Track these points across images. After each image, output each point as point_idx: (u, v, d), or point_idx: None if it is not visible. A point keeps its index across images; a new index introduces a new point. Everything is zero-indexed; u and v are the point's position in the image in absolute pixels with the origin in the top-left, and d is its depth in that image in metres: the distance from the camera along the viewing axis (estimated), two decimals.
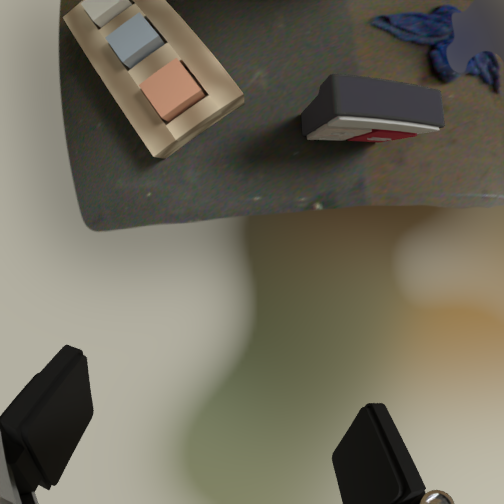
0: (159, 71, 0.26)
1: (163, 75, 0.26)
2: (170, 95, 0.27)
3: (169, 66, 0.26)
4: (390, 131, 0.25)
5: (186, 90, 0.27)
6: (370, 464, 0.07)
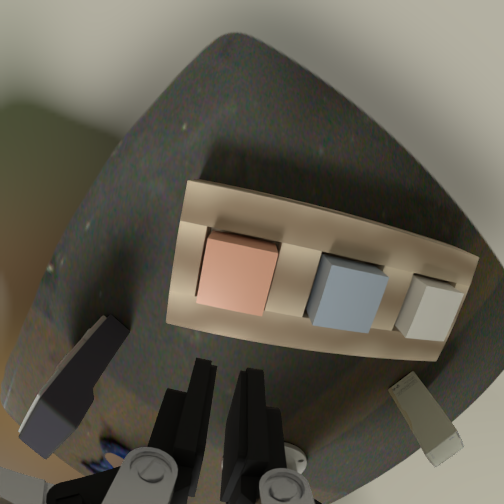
0: (266, 287, 0.22)
1: (256, 286, 0.22)
2: (222, 270, 0.21)
3: (259, 301, 0.22)
4: None
5: (210, 289, 0.22)
6: (233, 427, 0.07)
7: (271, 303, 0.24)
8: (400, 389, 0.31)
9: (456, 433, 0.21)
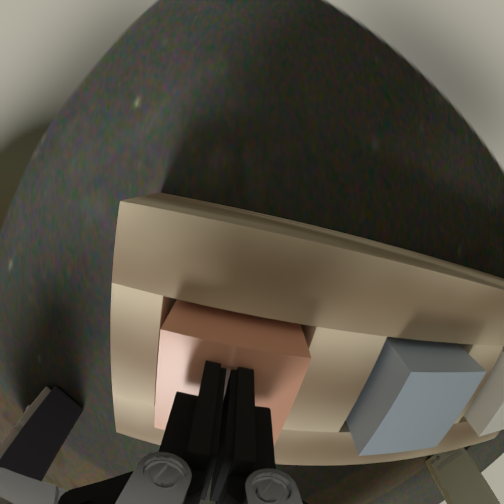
0: (283, 412, 0.10)
1: None
2: (196, 387, 0.10)
3: None
4: None
5: None
6: (223, 427, 0.07)
7: (288, 419, 0.12)
8: (440, 462, 0.19)
9: None
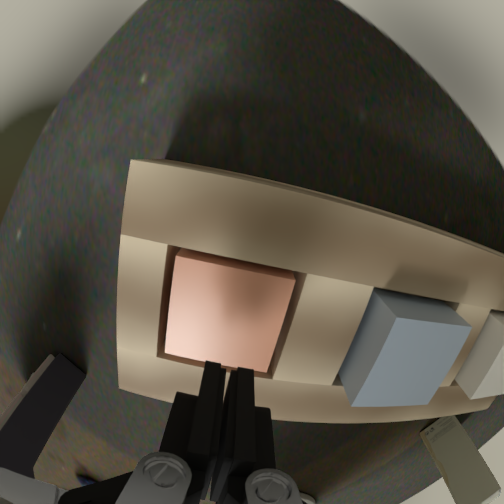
0: (274, 333, 0.13)
1: (258, 332, 0.13)
2: (202, 307, 0.13)
3: (263, 352, 0.13)
4: None
5: (185, 335, 0.13)
6: (223, 427, 0.07)
7: (283, 369, 0.14)
8: (435, 434, 0.21)
9: (499, 490, 0.11)
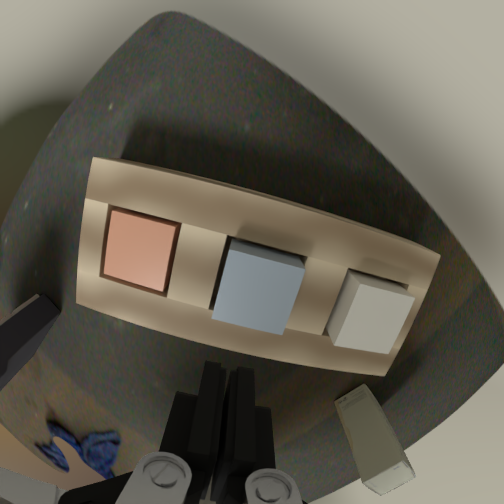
0: (165, 261, 0.21)
1: (155, 260, 0.21)
2: (125, 242, 0.20)
3: (159, 275, 0.21)
4: None
5: (115, 261, 0.21)
6: (223, 427, 0.07)
7: (173, 290, 0.21)
8: (347, 403, 0.29)
9: (402, 463, 0.19)
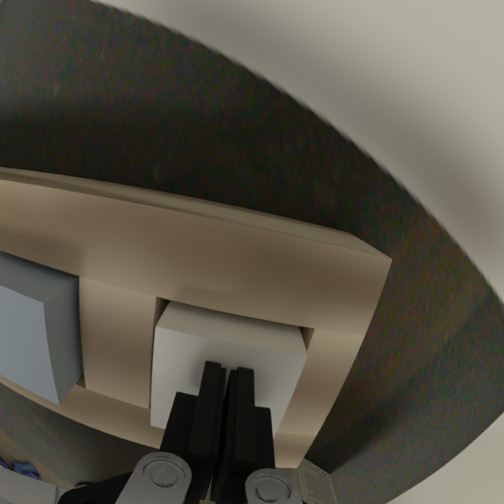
0: None
1: None
2: None
3: None
4: None
5: None
6: (223, 427, 0.07)
7: None
8: None
9: None
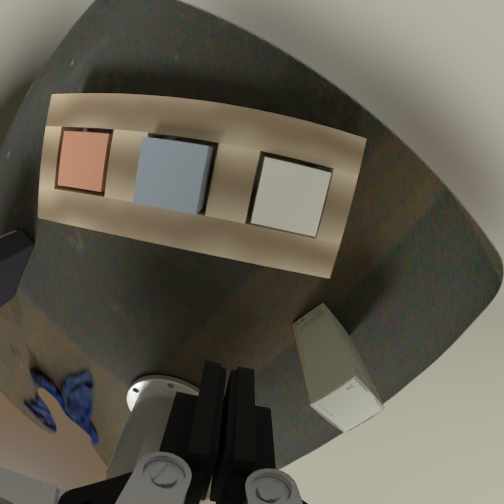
0: (102, 164, 0.22)
1: (94, 164, 0.22)
2: (72, 154, 0.22)
3: (98, 177, 0.22)
4: None
5: (66, 172, 0.22)
6: (223, 427, 0.07)
7: (108, 188, 0.23)
8: (304, 323, 0.30)
9: (357, 381, 0.20)
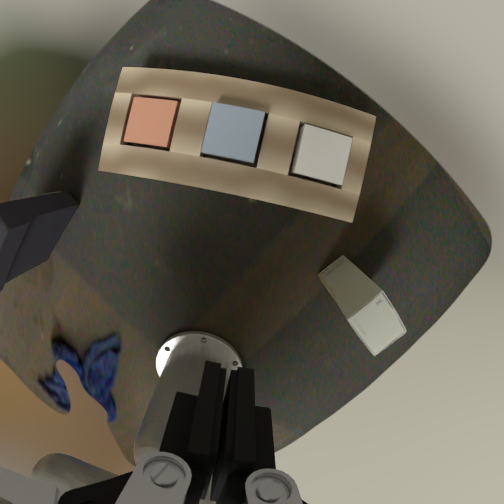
0: (169, 125, 0.28)
1: (162, 124, 0.28)
2: (141, 116, 0.27)
3: (165, 135, 0.28)
4: None
5: (133, 130, 0.28)
6: (223, 427, 0.07)
7: (174, 144, 0.28)
8: (328, 271, 0.35)
9: (384, 296, 0.25)
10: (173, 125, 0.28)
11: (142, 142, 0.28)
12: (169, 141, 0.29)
